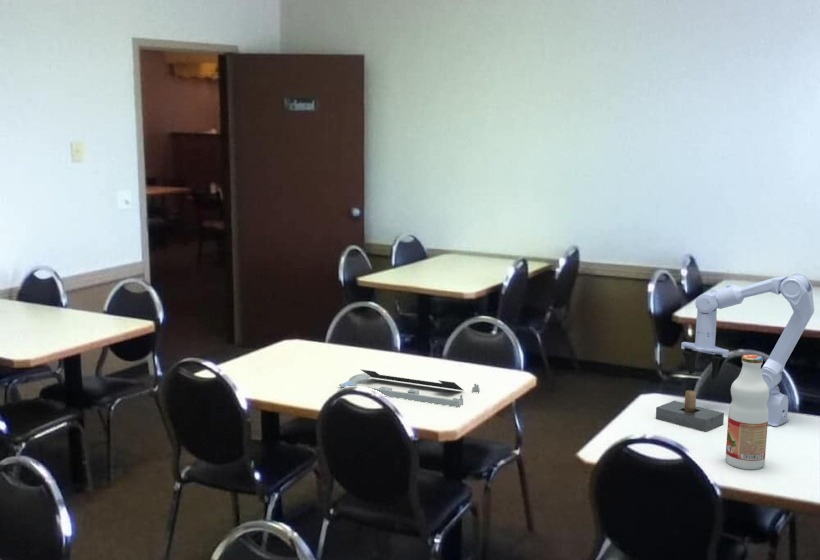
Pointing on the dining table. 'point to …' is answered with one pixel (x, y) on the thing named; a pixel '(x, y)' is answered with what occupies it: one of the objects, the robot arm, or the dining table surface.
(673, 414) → the block with square hole
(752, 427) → the fruit juice
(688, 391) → the peg
